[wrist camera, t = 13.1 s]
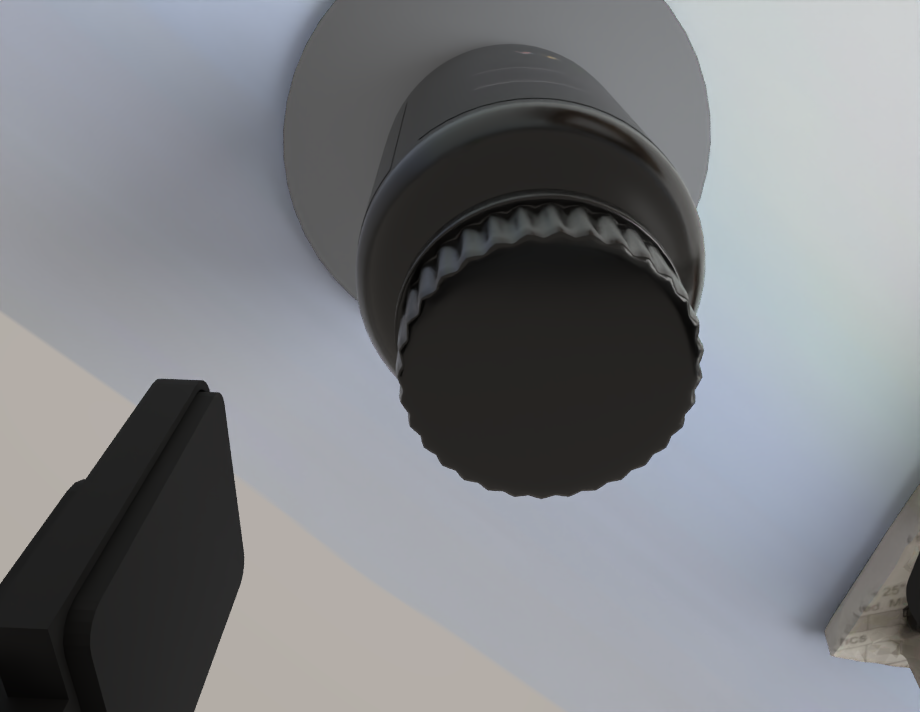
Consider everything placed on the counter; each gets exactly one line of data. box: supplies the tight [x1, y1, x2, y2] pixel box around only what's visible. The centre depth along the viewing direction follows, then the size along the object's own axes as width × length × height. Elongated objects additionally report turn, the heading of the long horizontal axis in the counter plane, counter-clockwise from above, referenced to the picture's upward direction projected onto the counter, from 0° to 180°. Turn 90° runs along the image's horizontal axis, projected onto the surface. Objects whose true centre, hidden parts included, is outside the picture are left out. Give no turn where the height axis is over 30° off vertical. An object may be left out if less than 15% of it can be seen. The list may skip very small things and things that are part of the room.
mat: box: [283, 0, 711, 301], centre depth 23 cm, size 12×12×1 cm
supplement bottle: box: [356, 44, 705, 499], centre depth 18 cm, size 7×7×12 cm
